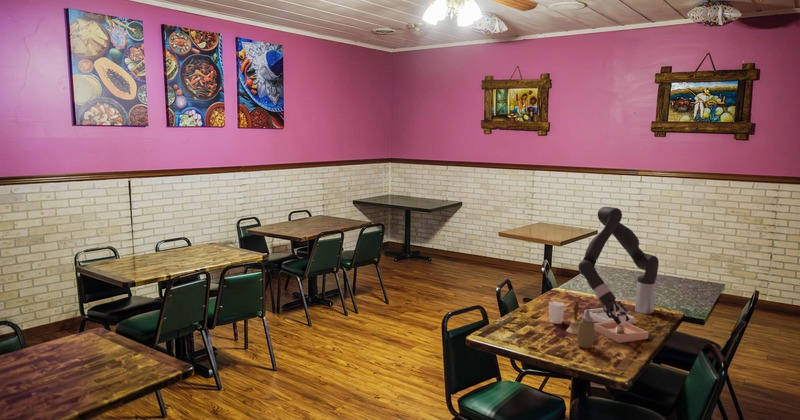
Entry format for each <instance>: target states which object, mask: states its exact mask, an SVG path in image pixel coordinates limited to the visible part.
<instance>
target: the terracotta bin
mask: <svg viewBox="0 0 800 420" xmlns="http://www.w3.org/2000/svg"><path fill="white" fill-rule="evenodd" d="M615 329H616V322H615V321H612V322H604V323H597V322H595V323H594V332H596V333H599V334H601V335H603V336H605V337H606V338H608V339H610V340H613V341H615V342H616V343H620V344H621V343H626V342H633V341H634V342H635V341H641V340H648V339H649V331H647V330H644V329H642V328H640V327H638V326H636V325H634V324H629V323H627V322H626V323H625V333H624V334H618V333H616V332H615Z"/></svg>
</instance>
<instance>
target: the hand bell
mask: <svg viewBox="0 0 800 420" xmlns="http://www.w3.org/2000/svg"><path fill="white" fill-rule="evenodd" d="M579 310H580V303H579V301H578V300H576V301H575V302H574V304H573V313H574V314H573V319H572V320H570V324H569V326H568V327H567V329H566V333H568V334H571V335H577V333H578V328H579V322H580V320H578V314H579Z"/></svg>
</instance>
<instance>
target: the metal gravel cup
mask: <svg viewBox="0 0 800 420" xmlns="http://www.w3.org/2000/svg"><path fill="white" fill-rule="evenodd" d="M617 317H618V319H619V320H620V321H621V323H620V324H619V325H617V324H616V329H615V332H616V333H618V334H624V333H625V323H626V315H624V314H617Z"/></svg>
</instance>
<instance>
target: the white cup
mask: <svg viewBox="0 0 800 420" xmlns="http://www.w3.org/2000/svg"><path fill="white" fill-rule="evenodd" d="M564 311H565V303H564V302H560V301H555V300H554V301H549V302H548V321H549V322H550V323H552V324H558V325H559V324H562V323H563V317H564Z"/></svg>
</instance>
